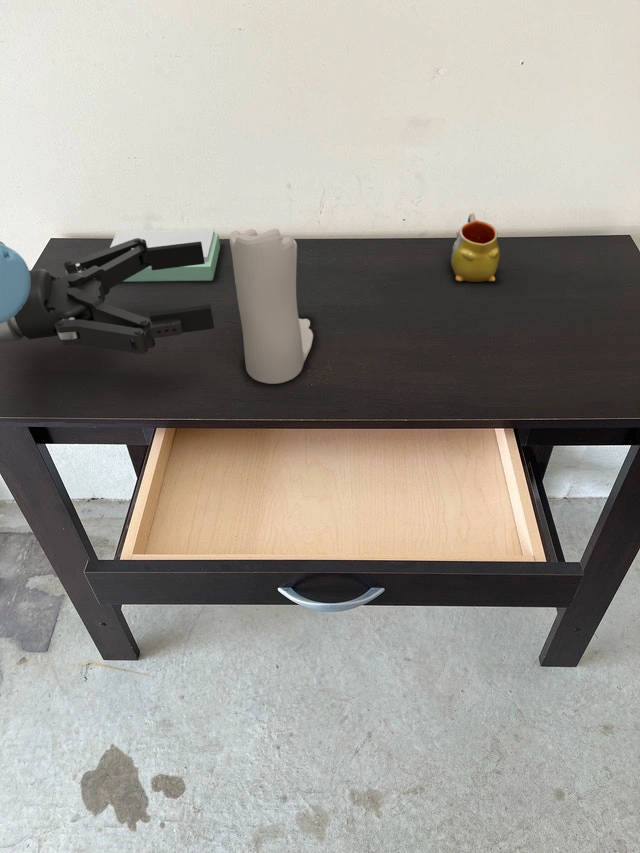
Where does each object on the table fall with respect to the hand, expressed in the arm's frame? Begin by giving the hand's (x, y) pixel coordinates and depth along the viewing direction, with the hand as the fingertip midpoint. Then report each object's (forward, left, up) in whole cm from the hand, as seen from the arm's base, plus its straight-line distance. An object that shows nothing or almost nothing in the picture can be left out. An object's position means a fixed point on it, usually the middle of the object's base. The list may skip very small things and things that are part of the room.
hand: (207, 282), depth 77 cm
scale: (-2, +25, -11) cm, 27 cm away
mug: (+41, +7, -11) cm, 43 cm away
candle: (+8, -2, -11) cm, 14 cm away
